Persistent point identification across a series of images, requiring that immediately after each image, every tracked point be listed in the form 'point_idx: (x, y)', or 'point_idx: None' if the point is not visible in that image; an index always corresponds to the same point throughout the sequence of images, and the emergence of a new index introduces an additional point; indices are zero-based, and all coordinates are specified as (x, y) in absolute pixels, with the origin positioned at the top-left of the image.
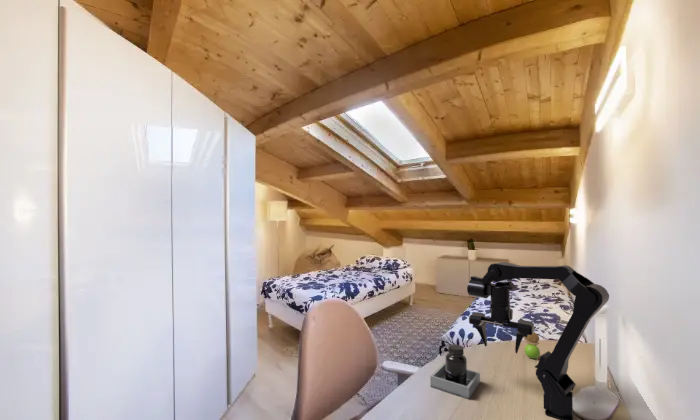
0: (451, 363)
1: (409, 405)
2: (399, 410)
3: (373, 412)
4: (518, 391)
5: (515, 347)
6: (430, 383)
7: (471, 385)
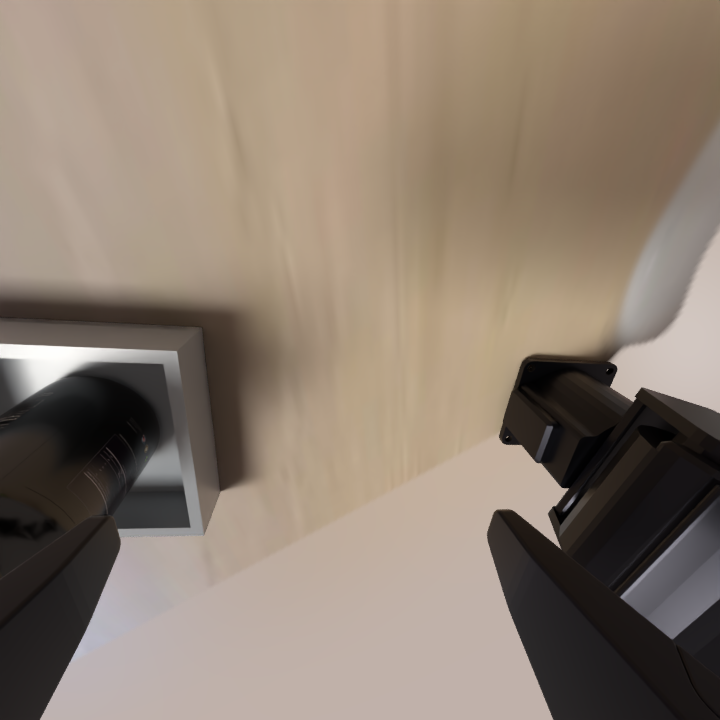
0: None
1: None
2: None
3: None
4: (403, 301)
5: (523, 642)
6: None
7: (201, 495)
